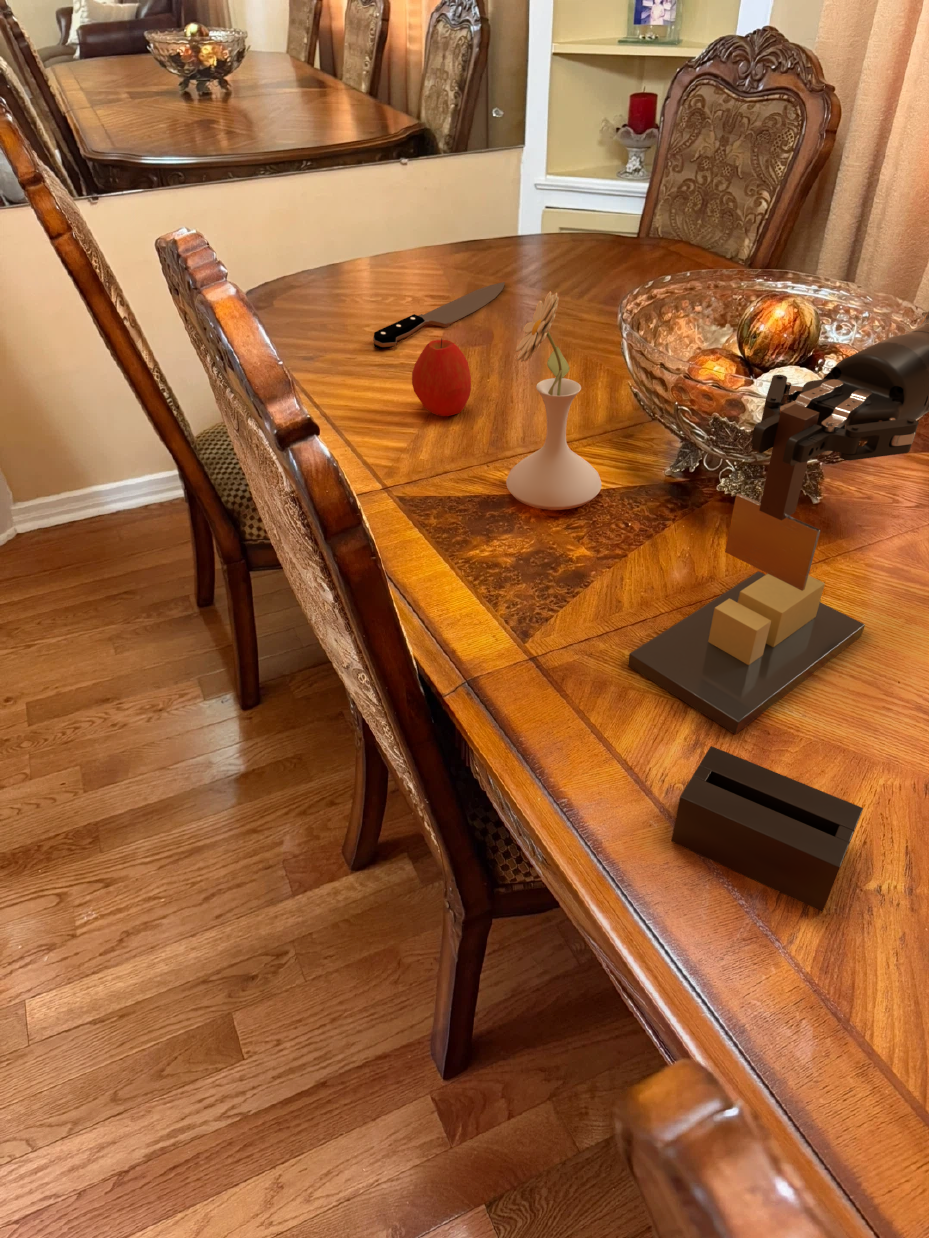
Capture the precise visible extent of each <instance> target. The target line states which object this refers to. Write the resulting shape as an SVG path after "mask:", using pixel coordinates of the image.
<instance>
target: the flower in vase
mask: <svg viewBox="0 0 929 1238" xmlns="http://www.w3.org/2000/svg"><path fill="white" fill-rule="evenodd" d="M559 299H560V297H559V296H558V292H555V293H554V294H552V291H551V290H550V291H549V292H548V293H547V295H546V296H545V299H544V302H543V301H542V300H538V302H537V304H536V307H535V311H534V313H533V315H532V321H529V322H527V323H526V324H525V325H524V327H523V330H522V331H523V333H524V334H526V335H525V336H524V337H522V339H521V340H520V342H519V343H518V344H517V346H516V348H515V352H516V353H518V352H520V353H519V354H518V356H517V357H516V361H520V362H521V363H526V362H527V361H528V360H530V359H531V358H532V357H533V356H534V354H535V353H536V352H537V351H538V349H539V348H540V346H541V344H543V342H544V341H545V339H546V337H547V339H548V341H549V343H550V345H551V347H552V350H553V351H552V352H551V353H550V355H549V357H548V359H547V362H546V365H547V368H548V369H549V370H550V372H551V373H552V375H553V376H554V377H552V378H551V377H550V378H545V379H543V380H541V381H539V382H538V383H537V384H536V385H535V388H536V391H537V392H538V394H539V395H540V396H541V399H542V401H543V403H544V408H545V414H546V415H545V416H546V434H545V435H546V436H545V440H544V443H543V445H542V446H541V447H540V448H539V449H537V450H535V452H532V453H531V454H529V455H527V456H526V457H524V458H522V459H521V460H519V462H517V464H515V465H514V466H513V467H512V468H511V469H510V470H509V473H508V475H507V477H506V479H505V480H506V481H505V485H506V487H507V490H508V491H509V492H510V494H511V495H512V496H513V497H514V498H515V499H516V500H517V501H519V502H520V503H522V504H524V505H527V506H529V507H533V508H536V509H543V510H549V511H550V510H551V511H560V510H561V511H562V510H569V509H570V510H571V509H576V508H578V507H582V506H584V505H586V504H588V503H590V502H591V501H593V500H594V499H595V498H596V497H597V495H598V494H599V493H600V491H601V490H602V486H603V485H602V480H601V477H600V474H599V472H598V471H597V469H596V468H594V466H593V465H591V463H590V462H588V461H587V460H586V459H584V458H583V457H582V456H580V455H579V454H577V453H576V452H575V451H573V450H571V448H570V447H569V445H568V443H567V424H568V423H567V422H568V419H569V412H570V409H571V405H572V403H573V401H574V400H575V398H576V396H577V395H578V394H579V393H580V391H581V390H582V385H581V384H580V383H579V382H577V381H576V380H573V379H570V378H566V377H565V376H566V375H568V373H569V371H570V369H571V368H570V365H569V363H568V361H567V360H566V358H565V356H564V355H563V353H562V351H561V349H560V347H559V345H557V346H556V343H555V341H554V339H553V337H552V335H551V332H550V329H551V327H552V324H553V323H554V321H555V318H556V314H557V313H556V312H557V311H558V306H559Z"/></svg>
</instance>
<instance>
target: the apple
mask: <svg viewBox="0 0 929 1238" xmlns="http://www.w3.org/2000/svg"><path fill="white" fill-rule="evenodd" d="M414 363H415V364H414V366H413V368H412V372H411V385H412V389H413V392H414V393H415V394H414V395H416V397H417V398H418V400H419V401H420V403H421V404H422V406H423V407H424V409H425V410H427V411H428V412H429V413H431V414H434V415H436V416H439V417H449V416H454V415H457V414H460V413H461V412H462V411H463V410H464V408H465V407H466V405H467V403H468V400H469V398H470V396H471V391H472V376H471V371H470V365H469V362H468V360H467V358H466V356H465V354H464V353H463V351H462V350H461V349H460V348H459V346H458V345H457V344H455V342H452V341H451V340H448V339H443V338H440V339H434V340H431V341H429V342H428V343H427V344H426V345H425V346H424V348H423V349H422V351H421V353H420V354H419V356H418V358H417V359H416V362H414Z"/></svg>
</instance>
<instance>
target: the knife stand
mask: <svg viewBox="0 0 929 1238" xmlns="http://www.w3.org/2000/svg"><path fill="white" fill-rule="evenodd" d="M863 810H864V807H862V806H859V805H857V804H855V803H852V802H851V801H847V800H845V799H842V798H840V797H837V796H835V795H833V794H830V793H827V792H825V791H822V790H821V789H817V788H816V787H813V786H811V785H808V784H805V783H803V782H801V781H798V780H795V779H793V778H791V777H788V776H786V775H784V774H781V773H779V772H776V771H774V770H771V769H769V768H766V767H764V766H762V765H759V764H757V763H754V762H752V761H750V760H747V759H744V758H742V757H739V756H736V755H734V754H732V753H729V752H727V751H725V750H722V749H719V748H717V747H715V746H712V745H710V746H709V748H708V749H707V751H706V753H705V754H704V757H703V758H702V760H701V761H700V763H699V764H698V766H697V768H696V769H695V771H694V773H693V775H692V776H691V778H690V780H689V781H688V782H687V784H686V786H685V787H684V789H683V791H682V793H681V795H680V796H679V799H678V805H677V810H676V814H675V820H674V825H673V830H672V835H671V839H670V840H671V842H672V843H674V844H676V845H678V846H680V847H682V848H684V849H687V850H688V851H691V852H693V853H696V854H698V855H699V856H702V857H704V858H706V859H708V860H710V861H713V862H714V863H717V864H719V865H721V866H723V867H725V868H727V869H729V870H731V871H734V872H735V873H738V874H740V875H742V876H745V877H747V878H749V879H751V880H753V881H756V882H757V883H759V884H761V885H763V886H765V887H768V888H770V889H772V890H775V891H777V892H779V893H781V894H783V895H785V896H787V897H790V898H791V899H793V900H795V901H798V902H800V903H802V904H804V905H806V906H808V907H811V908H812V909H815V910H817V911H819V912H822V913H823V912H824V911H825V908H826V905H827V903H828V901H829V900H828V899H829V897H830V895H831V892H832V889H833V887H834V884H835V882H836V880H837V877H838V874H839V872H840V869H841V867H842V864H843V862H844V859H845V856H846V854H847V851H848V849H849V846H850V844H851V842H852V839H853V836H854V834H855V831H856V828H857V826H858V823H859V821H860V818H861V816H862V813H863Z"/></svg>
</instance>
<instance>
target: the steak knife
mask: <svg viewBox="0 0 929 1238" xmlns="http://www.w3.org/2000/svg"><path fill="white" fill-rule="evenodd" d="M505 284H506V282H505V281H503V282H498V283H494V284H490V285H487V286H484V287H480V288H478V289H476V290H473V291H471V292H469V293H467V294H465V295H463V296H460V297H458V298H455V299H453V300H452V301H449V302H448V303H445V304H443V305H441V306H439V307H437V308H434V309H432V310H431V311H428V312H426V313H420V314H419V315H417V314H416V313H413V314H411V315H408V316H407V317H405V318H402V319H400V320H398V321H396V322H394V323H391V324H388V325H386V326H385V327H383V328H380V329H378V330H376V331H375V332H373V337H372V342H373V343H372V344H373V348H375V349H377V350H386V349H392V348H394V347H396V346H397V343H398V342H400V341H402V340H405V339H407V338H409V337H410V336H412V335H413V334H415V333H417V332H418V331H420V330H421V329H422V328H423V327H424V326H425V325H433V326H437V327H442V328H448V327H449V326H450V325H451V324H454V323H455V322H457V321H459V320H461V319H462V318H463V319H464V318H465V317H466V316H469V315H471V314H473V313H475V312H476V311H478V310H479V309H481V308H483V307H485V306H486V305H487V304H489V303H491V302H492V301H493V300H494V299H496V298H497V297H498V296H499V295H500V293H502V292H503V289H504V287H505Z"/></svg>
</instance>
